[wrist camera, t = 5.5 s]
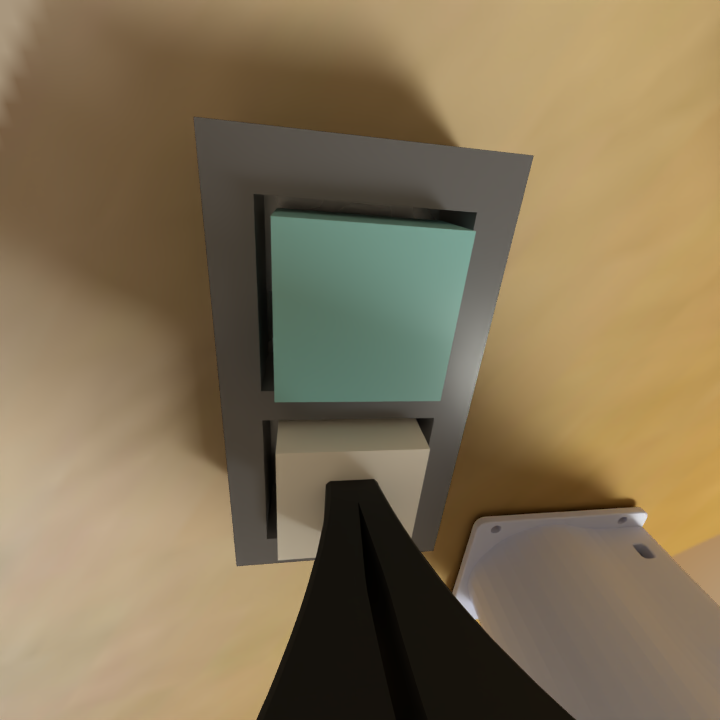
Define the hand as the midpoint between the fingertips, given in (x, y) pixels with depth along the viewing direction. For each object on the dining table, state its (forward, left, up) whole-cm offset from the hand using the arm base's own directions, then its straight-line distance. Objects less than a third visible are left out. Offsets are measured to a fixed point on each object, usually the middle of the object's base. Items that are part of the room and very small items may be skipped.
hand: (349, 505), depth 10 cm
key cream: (0, 0, -2) cm, 2 cm away
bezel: (0, -3, -3) cm, 4 cm away
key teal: (0, -6, -2) cm, 6 cm away
